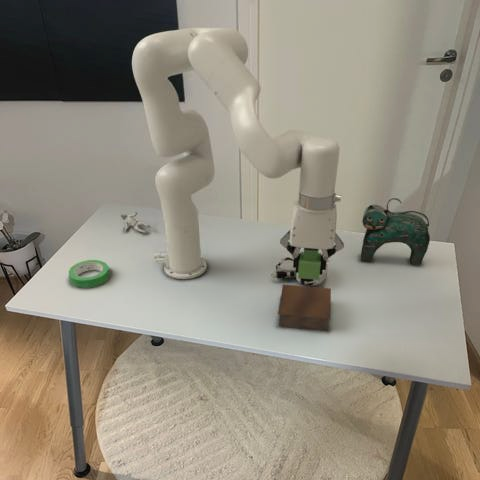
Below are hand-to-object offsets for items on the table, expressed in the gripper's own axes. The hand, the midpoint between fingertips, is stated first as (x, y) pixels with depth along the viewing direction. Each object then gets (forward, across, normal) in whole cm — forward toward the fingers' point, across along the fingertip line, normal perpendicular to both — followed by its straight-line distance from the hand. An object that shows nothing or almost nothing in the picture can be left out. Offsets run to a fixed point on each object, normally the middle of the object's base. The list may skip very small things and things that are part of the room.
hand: (309, 270), depth 111 cm
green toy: (+1, 0, 0) cm, 1 cm away
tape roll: (+13, +62, -8) cm, 64 cm away
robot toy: (+14, +2, -17) cm, 22 cm away
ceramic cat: (+14, -24, -31) cm, 41 cm away
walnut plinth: (+14, 0, 0) cm, 14 cm away
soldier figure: (+13, +59, -39) cm, 72 cm away
